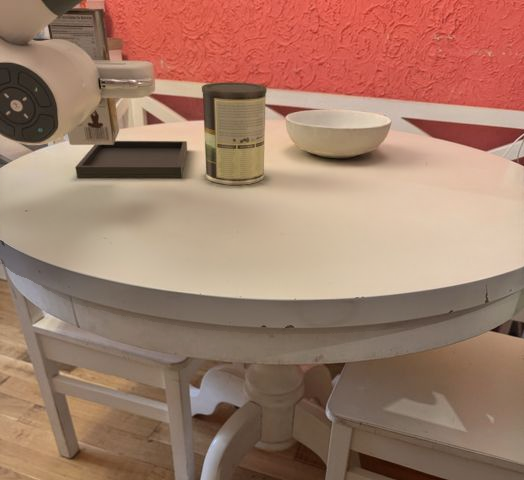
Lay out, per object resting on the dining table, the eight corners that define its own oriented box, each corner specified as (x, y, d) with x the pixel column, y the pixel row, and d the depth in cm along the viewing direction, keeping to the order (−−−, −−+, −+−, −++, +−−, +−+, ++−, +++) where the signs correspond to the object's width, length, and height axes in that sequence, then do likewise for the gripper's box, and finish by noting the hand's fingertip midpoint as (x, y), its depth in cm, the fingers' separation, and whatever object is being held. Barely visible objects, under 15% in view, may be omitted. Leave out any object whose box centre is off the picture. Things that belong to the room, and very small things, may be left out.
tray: (77, 177, 85) (75, 166, 84) (99, 150, 101) (98, 140, 100) (181, 178, 86) (181, 167, 85) (187, 150, 102) (186, 141, 101)
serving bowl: (356, 139, 114) (360, 106, 110) (405, 163, 97) (412, 125, 94) (270, 144, 108) (271, 109, 104) (307, 170, 92) (310, 130, 88)
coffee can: (193, 177, 86) (188, 86, 78) (230, 165, 93) (229, 80, 85) (240, 189, 81) (240, 93, 73) (275, 175, 88) (279, 86, 80)
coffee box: (77, 132, 78) (56, 7, 69) (120, 131, 79) (104, 8, 70) (68, 145, 70) (43, 7, 61) (115, 145, 71) (97, 9, 62)
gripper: (147, 54, 58) (159, 46, 69) (-37, 49, 56) (6, 42, 68) (152, 114, 61) (163, 97, 73) (-20, 111, 60) (18, 94, 71)
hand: (86, 70), depth 70 cm, fingers closed on coffee box, 6 cm apart
